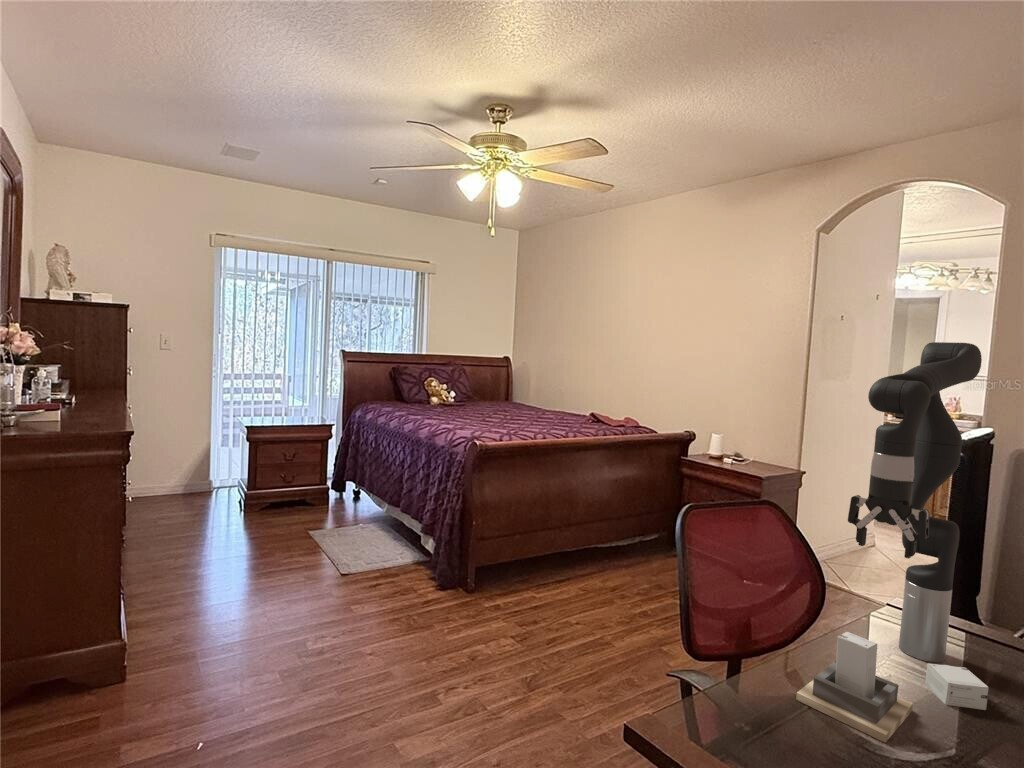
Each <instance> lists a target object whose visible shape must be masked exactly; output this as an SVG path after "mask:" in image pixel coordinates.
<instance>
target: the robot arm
mask: <svg viewBox="0 0 1024 768" xmlns="http://www.w3.org/2000/svg"><path fill="white" fill-rule="evenodd" d="M982 361H983V360H982V352H981V350H980V348H979V347H978V346H977V345H976V344H973V343H970V342H969V343H968V342H946V341H945V342H944V341H941V342H940V341H939V342H937V341H936V342H929V343H927V344H925V346H924V347H923V348H922V352H921V356H920V363H919V365H917V366H914V367H912V368H910V369H908V370H907V371H905V372H903V373H899V374H897V373H896V374H894V375H892V374H891V375H889V376H884V377H881V378H879V379H877V380H876V381H875V382H874V383H872V385H871V386H870V389H869V390H868V394H867V395H868V402H869V404H870V406H871V407H872V408H873V409H874V410H876V411H878V412H881V413H888V414H897V415H898V414H899V415H904V416H903V418H902V420H901V421H900V422H899V423H889V424H880V425H879V426H878V427H877V428H876V430H875V436H874V437H875V438H874V449H873V456H872V459H871V466H870V475H869V476H870V477H869V487H868V488H869V489H868V496H867V498H865V497H862V496H860V495H859V494H856V495H853V496H851V498H850V503H849V509H848V515H847V522H848V523H849V524H853V525H854V526H855V527H856V535H855V541H856V543H858V546H861V547H863V546H866V543H867V532H868V528H867V525H869V524H870V523H872V522H873V521H874V520H876V522H877V523H886V524H888V525H890V526H897V527H898V528H899V530H901V542H902V546H903V548H904V558H905V559H909V560H910V559H911V558H912V557H914V556H915V555H916V554H920V555H924V556H928V557H933V558H935V559H936V558H937V562H934V563H928V564H914V565H910V566H908V567H907V568H906V570H905V579H904V589H903V601H902V609H901V619H900V620H901V621H900V630H899V641H898V648H899V649H900V650H901V651H902V652H903V653H905V654H907V655H908V656H910V657H913V658H915V659H917V660H920V661H921V660H922V661H925V662H928V663H942V662H944V661H945V660H946V653H947V643H948V636H949V635H948V634H949V624H950V615H951V606H952V605H951V604H952V597H953V587H954V586H953V584H954V578H955V577H954V574H955V565H956V559H957V553H958V549H959V543H960V528H959V525H958V524H957V523H956V522H955V521H953V520H949V519H944V518H938V517H933V516H930V510H929V509H927V508H925V506H926V504H927V502H928V501H929V499H930V498H931V496H932V495H933V494H934V493H935V491H937V490H938V489H939V488H940V487H941V486H942V485H943V484H944V483H946V481H948V479H949V478H951V476H953V475H954V473H955V472H956V471H957V470H958V468H959V467H960V463H961V457H962V456H961V455H962V454H961V453H962V445H963V438H962V434H961V432H960V430H959V428H958V426H957V424H956V423H955V422H954V420H953V418H952V417H951V414H950V413H949V412H948V410H947V408H946V407H945V405H944V403H943V399H942V398H941V391H943V390H945V389H947V388H950V387H954V386H956V385H960V384H963V383H967V382H970V381H972V380H974V379H975V378H976V377H977V376H978V375H979V373H980V371H981V368H982ZM864 504H865V506H866V507H867V509H868V512H869V513H867V514H866V515H865V516H863V518H862V519H860V518H859V514H860V510H861V509H860V508H861V507H863V506H864Z"/></svg>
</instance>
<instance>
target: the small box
mask: <svg viewBox="0 0 1024 768" xmlns="http://www.w3.org/2000/svg"><path fill="white" fill-rule="evenodd" d="M925 674H926V675H925V683H924V684H925V686H926V687H927V688H928V689H930V691H931V692H932V693H933V694H934V695H935V696H936V697H937V698H938V699H939V700H940V701H941V702H942V703H943V704H944V705H945V706H954V707H959V708H969V709H974V710H975V709H976V710H980V711H981V710H983V711H986V710H987V706H988V705H987V704H988V699H989V698H988V697H989V696H988V695H989V686H988V685H987V684H986V683H984V682H983V681H982V680H981V679H980V678H978V677H977V676H976V675H975V674H973V672H971V671H970V670H969V669H968V668H967V667H962V666H953V665H949V664H936V663H930V662H928V663H927V664H926V673H925Z"/></svg>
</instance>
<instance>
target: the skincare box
mask: <svg viewBox="0 0 1024 768" xmlns="http://www.w3.org/2000/svg"><path fill="white" fill-rule="evenodd" d="M836 644H837V645H836V660H835V661H836V678H835V684H837V685H839V686H842V687H844V688H846V689H849V690H851V691H853V692H855V693H858V694H860V695H862V696H864V697H867V698H869V699H871V700H872V699H873V698H874V690H875V675H876V673H877V672H876V671H877V658H878V657H877V656H878V655H877V654H878V653H877V652H878V643H876V642H874V641H872V640H869V639H866V638H864V637H861V636H859V635H856V634H854V633H852V632H849V631H846V632H844V633H842V634H840V635H838V636H837V643H836Z"/></svg>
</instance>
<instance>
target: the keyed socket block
mask: <svg viewBox="0 0 1024 768" xmlns="http://www.w3.org/2000/svg"><path fill="white" fill-rule="evenodd" d="M835 678H836V660H835V661H834V662H832V663H831V664H830V665H829V666H827V667H826V668H825V669H823V670H822V671H821V672H820V673H818V674H817V675H816V676H814V677H813V679H812V680H811V681H810V682H808V683H807V684H805V686H803V687H802V688H800V690H798V691H797V692H796V698H795V699H796V700H795V701H798V702H800V703H802V704H804V705H805V706H808V707H810V708H812V709H814V710H817V711H819V712H820V713H823V714H824V715H826V716H830V717H831V718H833V719H835V720H837V721H839V722H842V723H843V724H846V725H847V726H849V727H851V728H853V729H856V730H858V731H860V732H862V733H864V734H866V735H868V736H870V737H872V738H874V739H877V740H879V741H880V742H882V743H887V742H888V740H889V739H890V738H892V735H894V734H895V732H896V731H897V730H898V728H899V727H900V726H901V725H902V724H903V723H904V721H905V720H906V719H907V718H908V717H909V716H910V715H911V713H912V711H913V708H914V707H913V706H914V703H912V702H911V701H908V700H905V699H904V698H903V699H902V698H900V697H898V693H899V684H898V683H895V682H893V681H890V680H888V679H885V678H883V677H880V676H878V675H876V674H875V690H874V698H873V699H872V700H871V699H869V698H867V697H864V696H862V695H860V694H858V693H855V692H853V691H851V690H849V689H846V688H844V687H842V686H839V685H837V684H835Z"/></svg>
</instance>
